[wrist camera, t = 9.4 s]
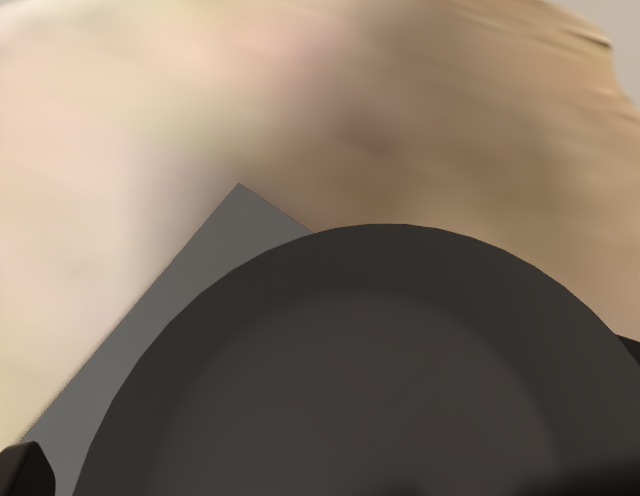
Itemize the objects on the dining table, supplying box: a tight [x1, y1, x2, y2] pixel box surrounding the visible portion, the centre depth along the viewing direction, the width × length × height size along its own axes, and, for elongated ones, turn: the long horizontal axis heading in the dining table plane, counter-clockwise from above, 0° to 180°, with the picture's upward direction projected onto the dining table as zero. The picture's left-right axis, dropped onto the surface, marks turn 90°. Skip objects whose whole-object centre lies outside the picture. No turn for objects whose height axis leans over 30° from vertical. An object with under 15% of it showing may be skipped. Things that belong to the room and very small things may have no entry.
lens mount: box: [19, 183, 314, 496], centre depth 15 cm, size 14×14×4 cm
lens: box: [72, 224, 640, 496], centre depth 10 cm, size 6×6×13 cm
